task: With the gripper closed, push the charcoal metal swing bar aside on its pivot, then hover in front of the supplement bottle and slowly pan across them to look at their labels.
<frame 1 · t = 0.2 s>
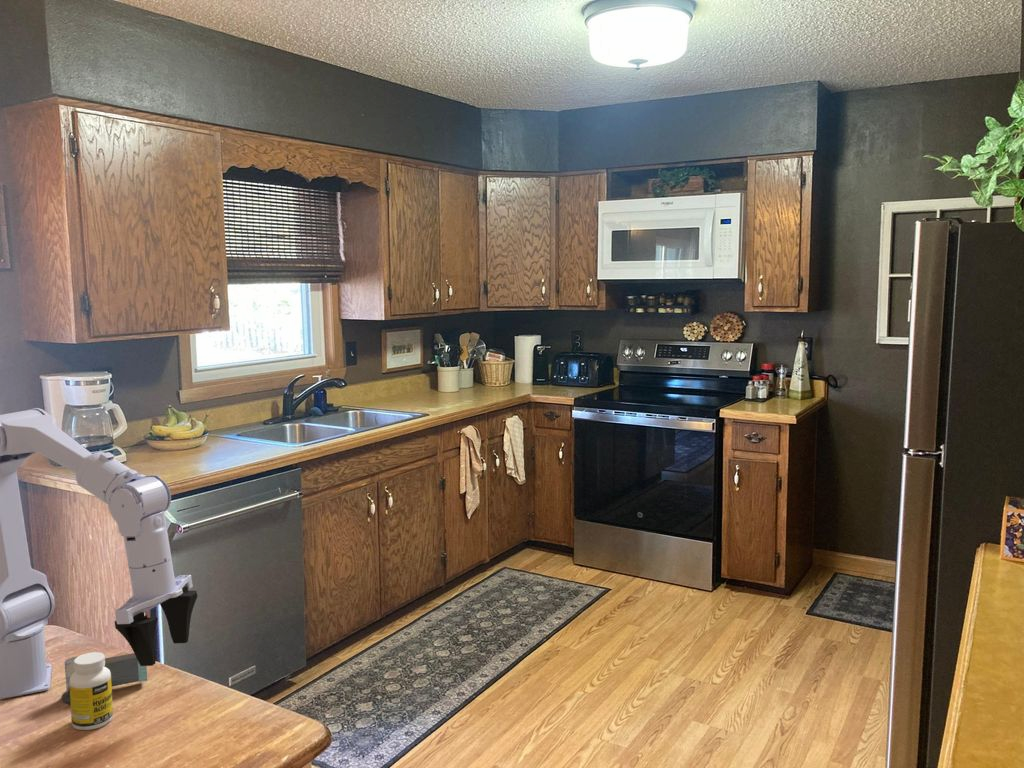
hand: (164, 653, 122), 10 cm above the table, tool pointing down, fingers open, 7 cm apart
pivot base: (78, 696, 130), on the table
swing bar: (106, 670, 131), point 3 cm above the table, hinge at 0.0°
supplement bottle: (93, 722, 123), on the table
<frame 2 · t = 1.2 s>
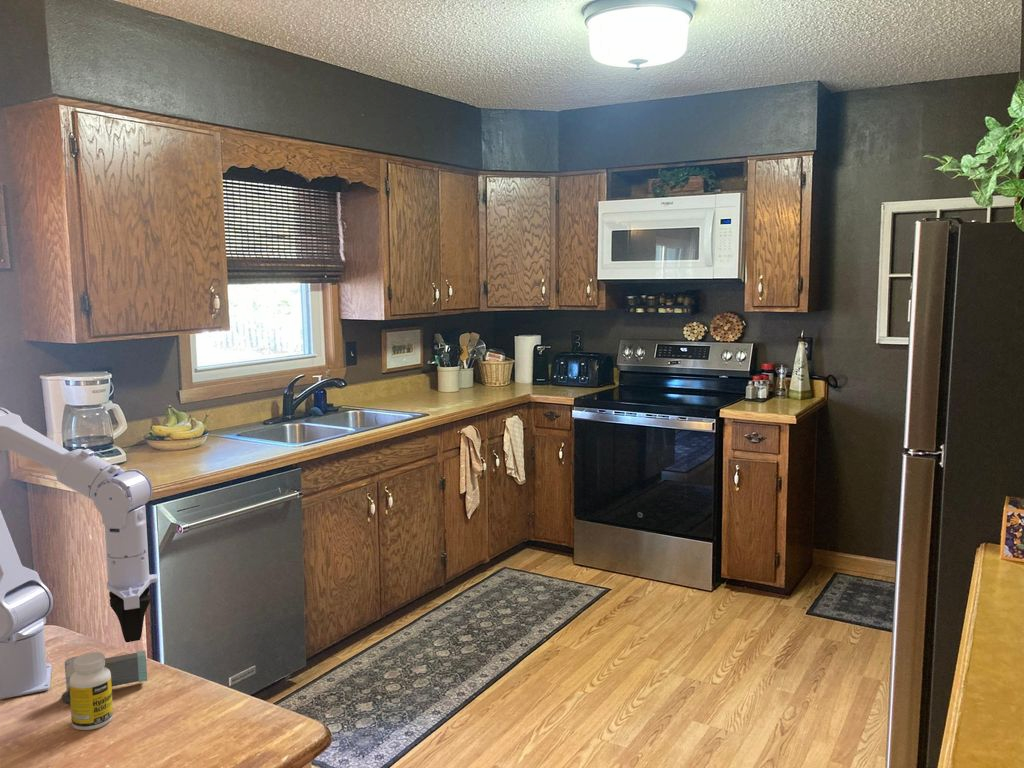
hand: (132, 637, 129), 9 cm above the table, tool pointing down, fingers closed
nothing on the table moved.
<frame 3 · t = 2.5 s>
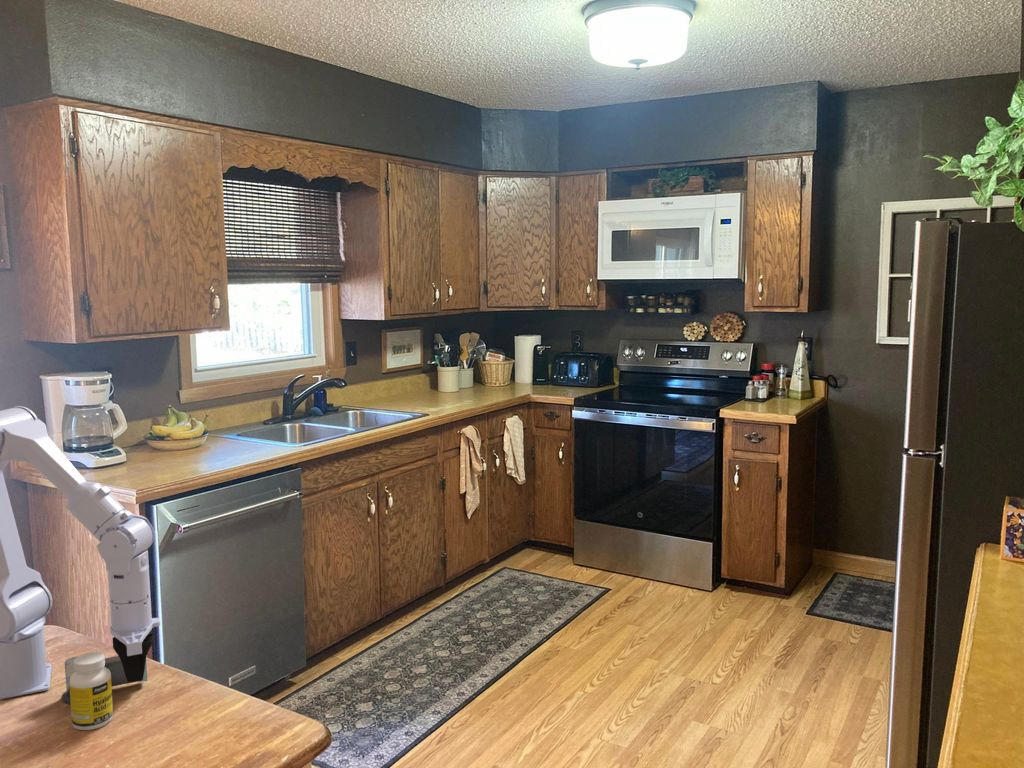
hand: (135, 680, 131), 2 cm above the table, tool pointing down, fingers closed
swing bar: (106, 670, 131), point 3 cm above the table, hinge at 0.0°, touching gripper
everything else where it was.
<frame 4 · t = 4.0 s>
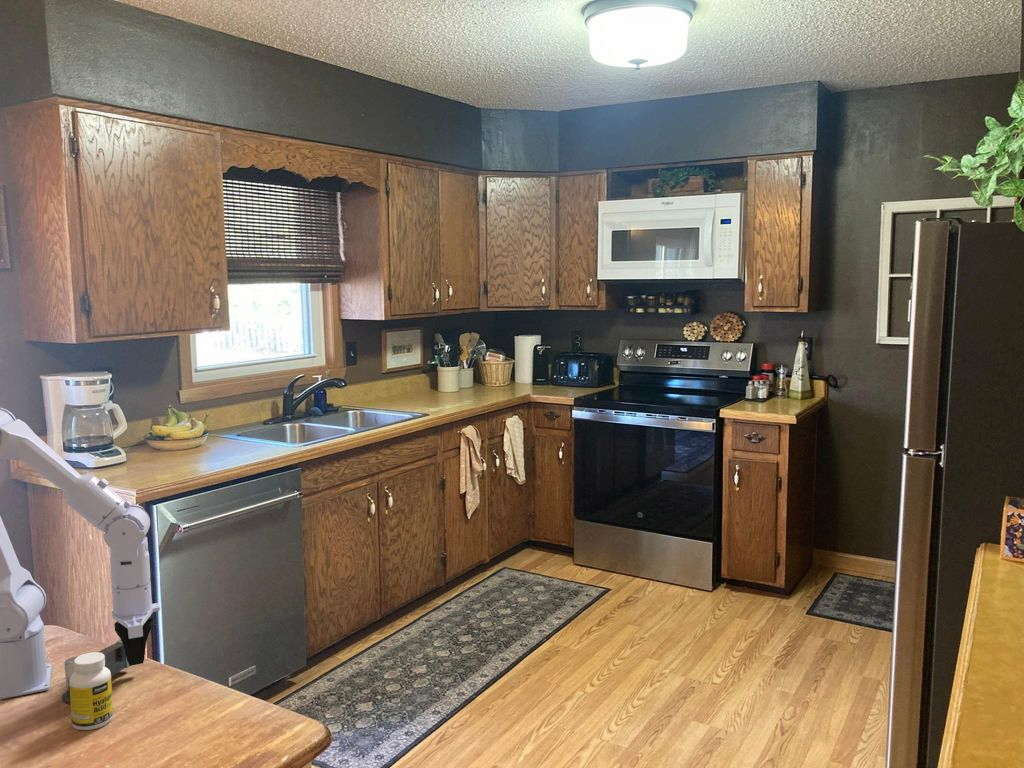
hand: (136, 663, 137), 2 cm above the table, tool pointing down, fingers closed
swing bar: (98, 664, 133), point 3 cm above the table, hinge at 41.5°, touching gripper
everything else where it was.
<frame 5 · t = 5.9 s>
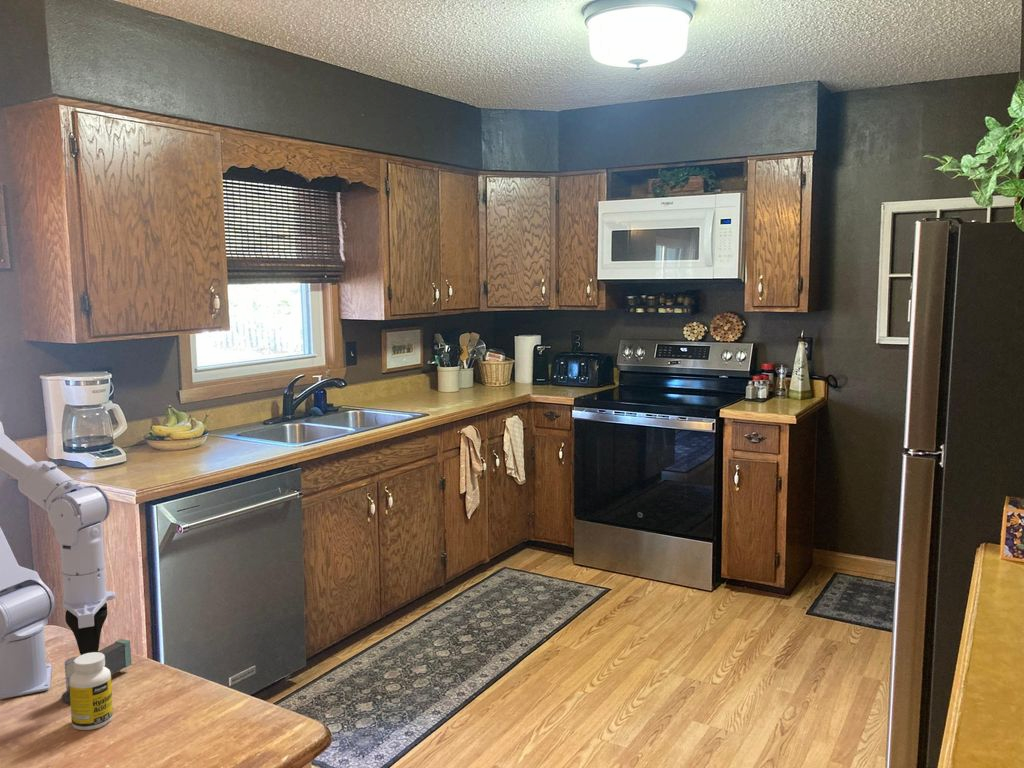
hand: (89, 655, 127), 7 cm above the table, tool pointing down, fingers closed
swing bar: (98, 664, 133), point 3 cm above the table, hinge at 43.1°
everything else where it was.
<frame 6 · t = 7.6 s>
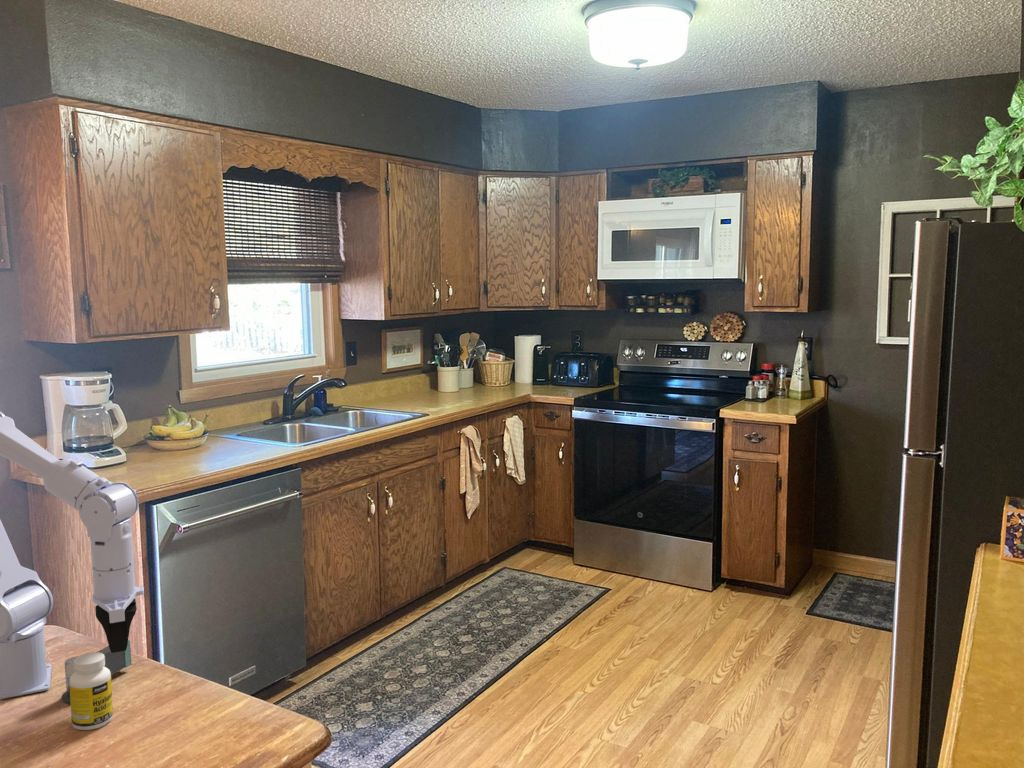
hand: (118, 650, 129), 7 cm above the table, tool pointing down, fingers closed
nothing on the table moved.
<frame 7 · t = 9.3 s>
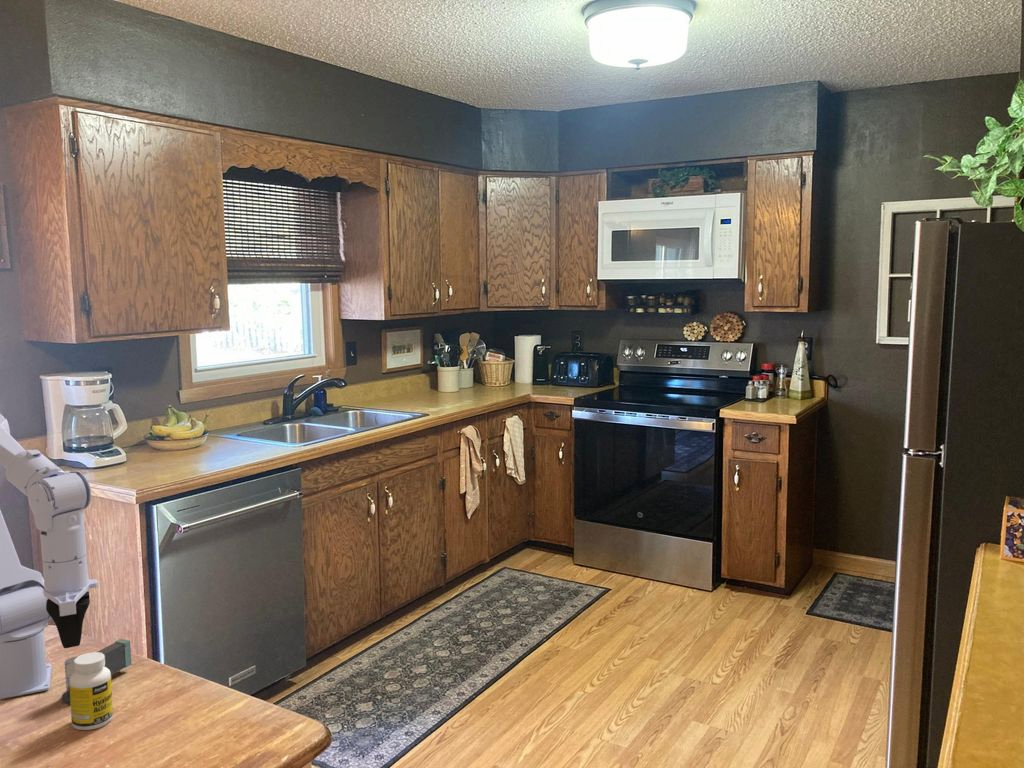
hand: (71, 645, 124), 10 cm above the table, tool pointing down, fingers closed
nothing on the table moved.
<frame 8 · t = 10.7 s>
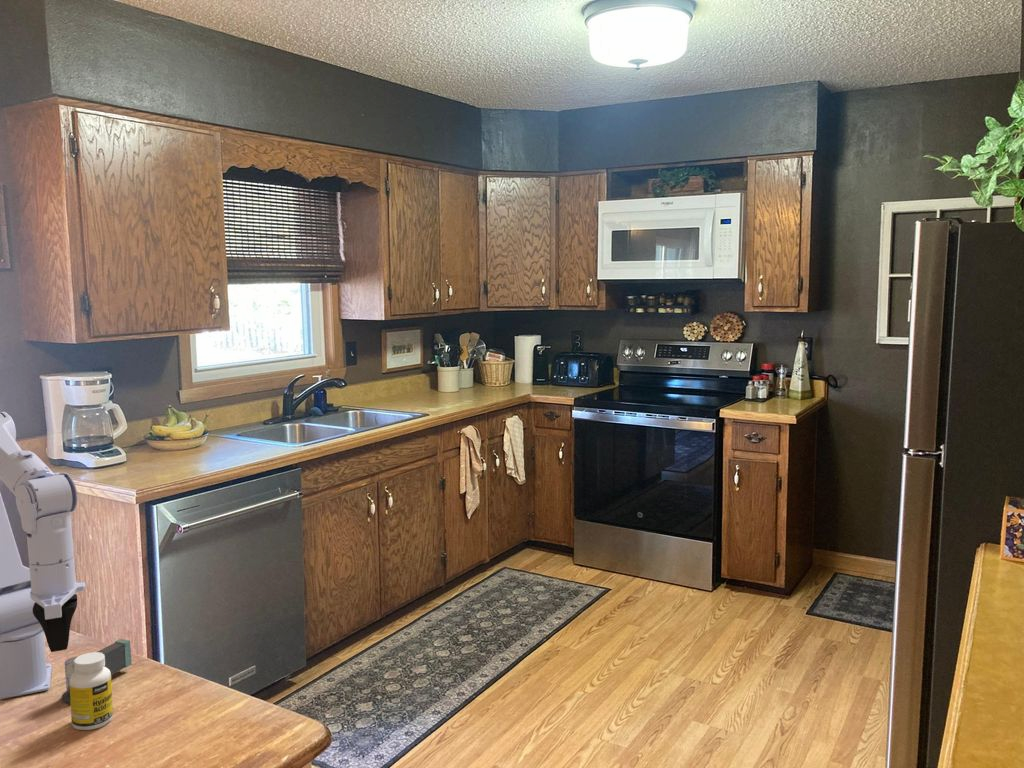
hand: (59, 649, 123), 10 cm above the table, tool pointing down, fingers closed
nothing on the table moved.
at the end: swing bar at +43° (first picture: +0°); supplement bottle moved 0.2 cm from its start; supplement bottle tilted 0° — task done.
